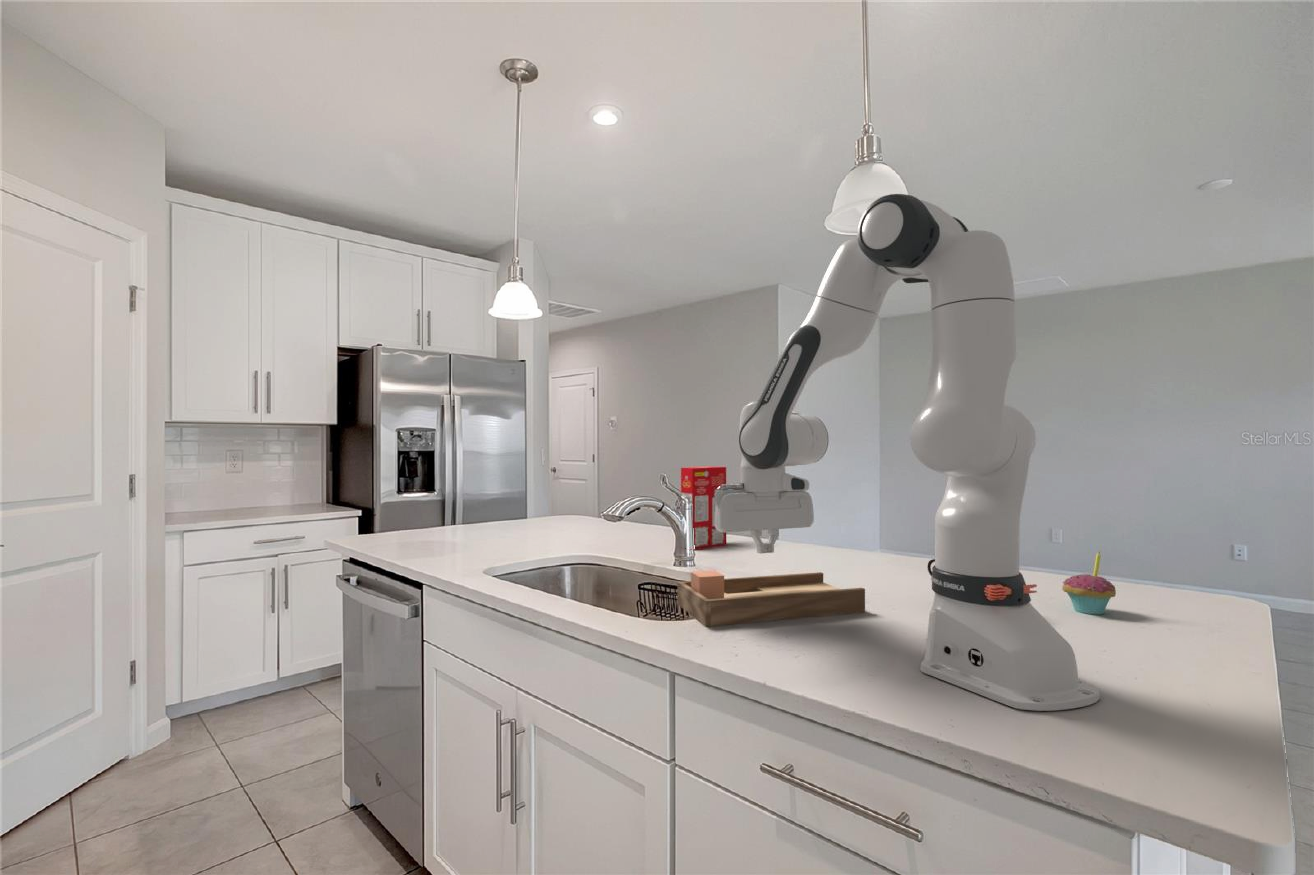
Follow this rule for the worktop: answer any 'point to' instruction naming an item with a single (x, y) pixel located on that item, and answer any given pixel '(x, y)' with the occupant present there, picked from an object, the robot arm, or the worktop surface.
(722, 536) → the food packaging
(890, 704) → the worktop surface
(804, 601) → the trap lane
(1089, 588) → the cupcake
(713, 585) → the block
